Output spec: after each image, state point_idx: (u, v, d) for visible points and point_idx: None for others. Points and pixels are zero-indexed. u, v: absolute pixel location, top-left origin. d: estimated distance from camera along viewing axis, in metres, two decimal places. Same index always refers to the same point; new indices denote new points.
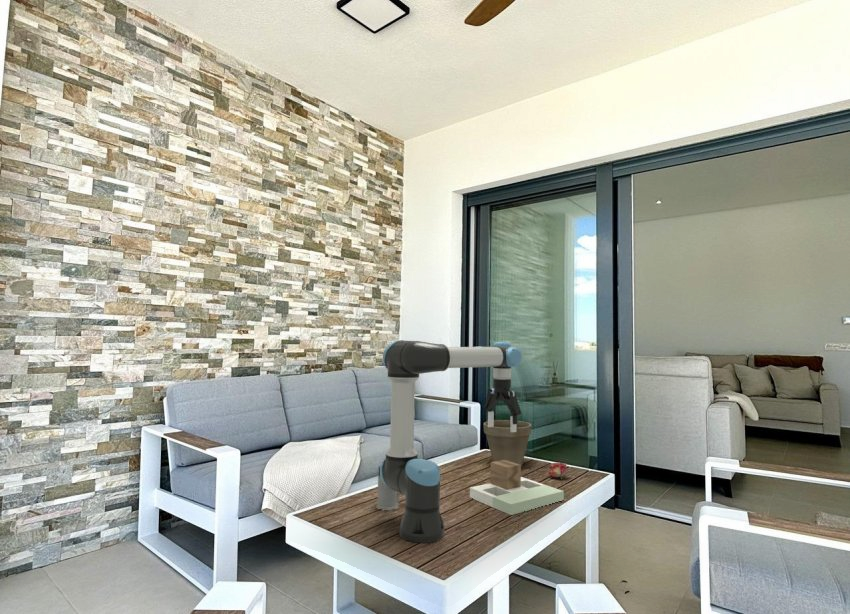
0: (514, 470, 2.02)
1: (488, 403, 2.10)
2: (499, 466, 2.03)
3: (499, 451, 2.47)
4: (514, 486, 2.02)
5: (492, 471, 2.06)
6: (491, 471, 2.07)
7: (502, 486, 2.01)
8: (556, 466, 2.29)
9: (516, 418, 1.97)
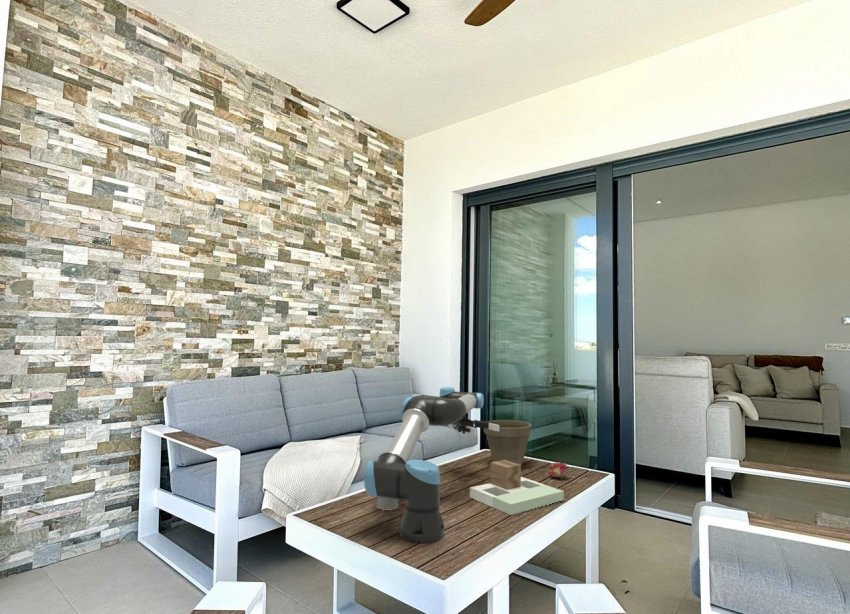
0: (514, 470, 2.02)
1: None
2: (499, 466, 2.03)
3: (499, 451, 2.47)
4: (514, 486, 2.02)
5: (492, 471, 2.06)
6: (491, 471, 2.07)
7: (502, 486, 2.01)
8: (556, 466, 2.29)
9: None
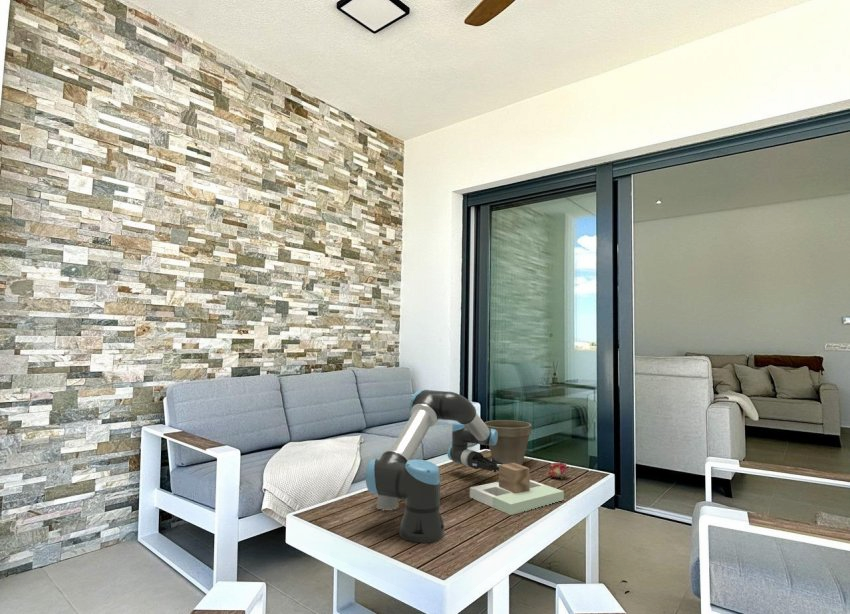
0: (523, 474, 1.97)
1: None
2: (507, 469, 1.99)
3: (499, 451, 2.47)
4: (522, 490, 1.97)
5: (501, 474, 2.02)
6: (500, 474, 2.03)
7: (510, 489, 1.97)
8: (556, 466, 2.29)
9: None
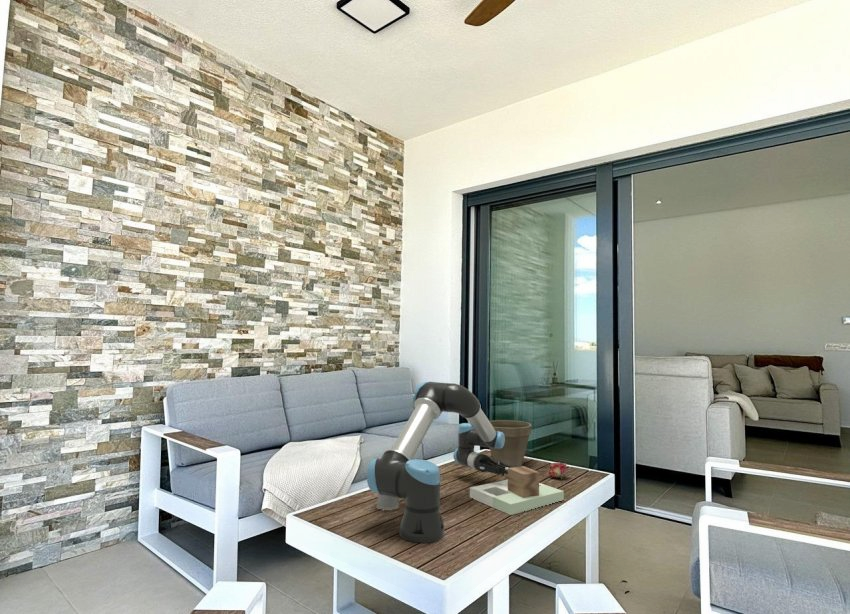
0: (532, 478, 1.92)
1: None
2: (516, 472, 1.94)
3: (499, 451, 2.47)
4: (531, 494, 1.91)
5: (509, 477, 1.97)
6: (509, 477, 1.98)
7: (518, 494, 1.92)
8: (556, 466, 2.29)
9: None
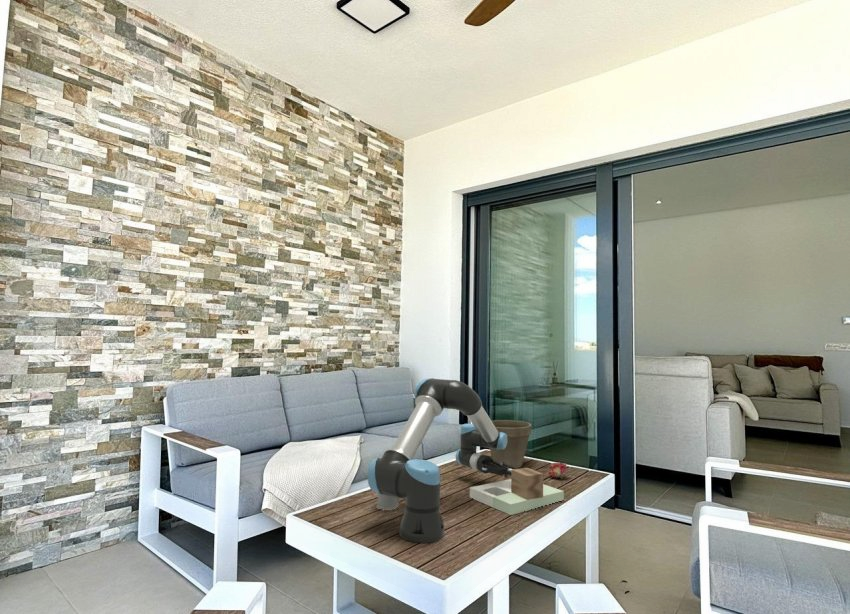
0: (535, 479, 1.89)
1: None
2: (519, 474, 1.92)
3: (499, 451, 2.47)
4: (535, 496, 1.89)
5: (513, 479, 1.95)
6: (512, 479, 1.95)
7: (522, 496, 1.89)
8: (556, 466, 2.29)
9: None
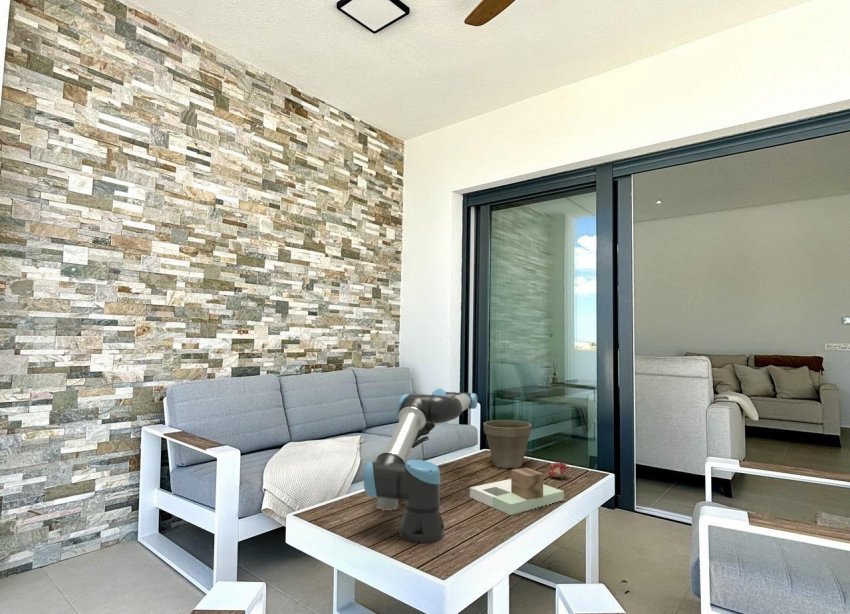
0: (535, 479, 1.89)
1: None
2: (519, 474, 1.92)
3: (499, 451, 2.47)
4: (535, 496, 1.89)
5: (513, 479, 1.95)
6: (512, 479, 1.95)
7: (522, 496, 1.89)
8: (556, 466, 2.29)
9: None
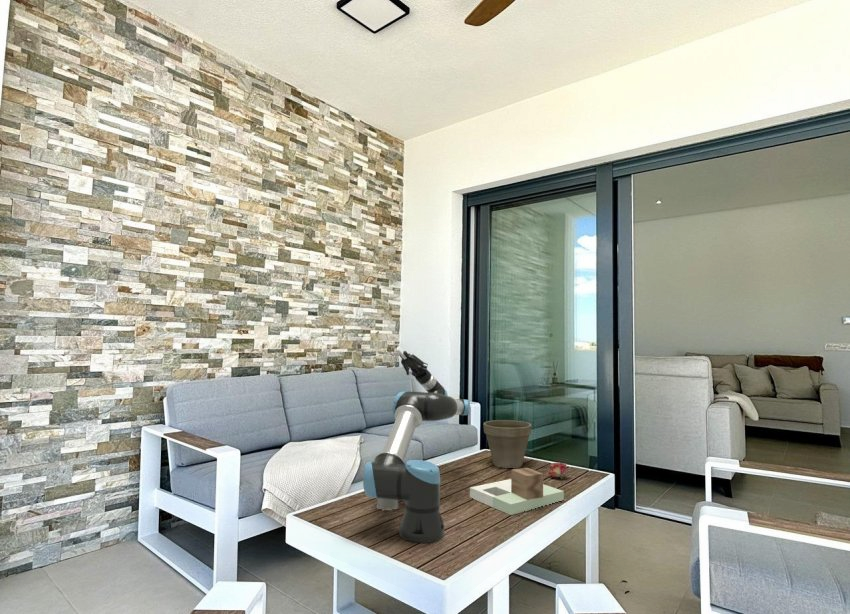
0: (535, 479, 1.89)
1: None
2: (519, 474, 1.92)
3: (499, 451, 2.47)
4: (535, 496, 1.89)
5: (513, 479, 1.95)
6: (512, 479, 1.95)
7: (522, 496, 1.89)
8: (556, 466, 2.29)
9: None
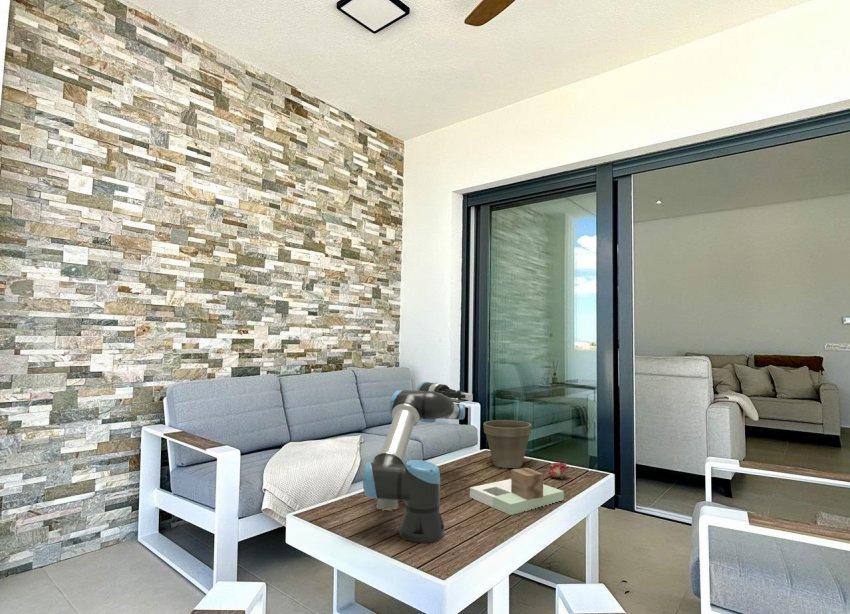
0: (535, 479, 1.89)
1: None
2: (519, 474, 1.92)
3: (499, 451, 2.47)
4: (535, 496, 1.89)
5: (513, 479, 1.95)
6: (512, 479, 1.95)
7: (522, 496, 1.89)
8: (556, 466, 2.29)
9: (460, 395, 2.18)
